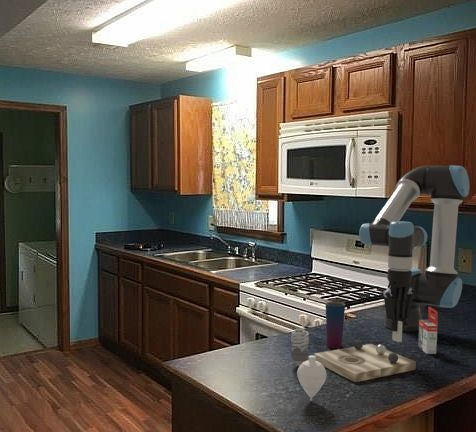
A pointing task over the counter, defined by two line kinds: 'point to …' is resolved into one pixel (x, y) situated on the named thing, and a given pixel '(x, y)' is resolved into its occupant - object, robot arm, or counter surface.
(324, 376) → the spinning top
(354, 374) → the board
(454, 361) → the counter surface
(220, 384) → the counter surface
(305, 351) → the light bulb
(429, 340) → the ink box
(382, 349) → the steel ball
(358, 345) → the black rubber ball
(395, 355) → the black rubber ball
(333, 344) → the cup
